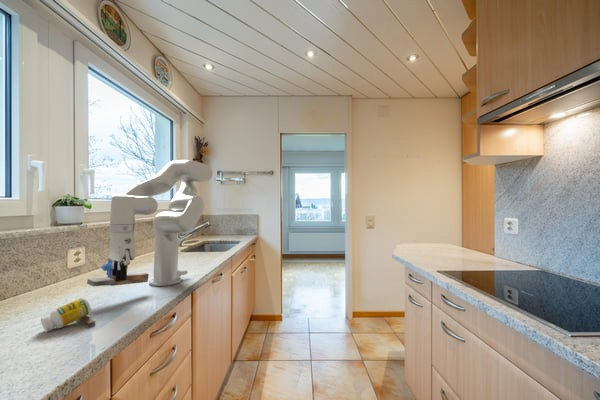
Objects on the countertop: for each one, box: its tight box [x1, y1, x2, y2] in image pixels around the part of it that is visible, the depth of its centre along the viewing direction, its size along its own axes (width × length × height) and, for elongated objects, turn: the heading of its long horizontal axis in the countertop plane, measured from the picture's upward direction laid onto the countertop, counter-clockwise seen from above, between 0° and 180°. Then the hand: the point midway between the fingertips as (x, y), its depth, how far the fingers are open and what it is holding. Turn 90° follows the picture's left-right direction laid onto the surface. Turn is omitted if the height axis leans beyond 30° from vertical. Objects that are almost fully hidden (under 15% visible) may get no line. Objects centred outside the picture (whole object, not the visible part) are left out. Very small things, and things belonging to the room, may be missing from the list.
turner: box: [86, 272, 150, 287], centre depth 93 cm, size 18×6×3 cm, turn 147°
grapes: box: [100, 257, 113, 278], centre depth 117 cm, size 12×7×12 cm, turn 27°
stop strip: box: [77, 315, 96, 328], centre depth 75 cm, size 2×10×1 cm, turn 57°
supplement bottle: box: [40, 297, 92, 333], centre depth 72 cm, size 5×5×10 cm
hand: (119, 279), depth 92 cm, fingers closed on turner, 2 cm apart
